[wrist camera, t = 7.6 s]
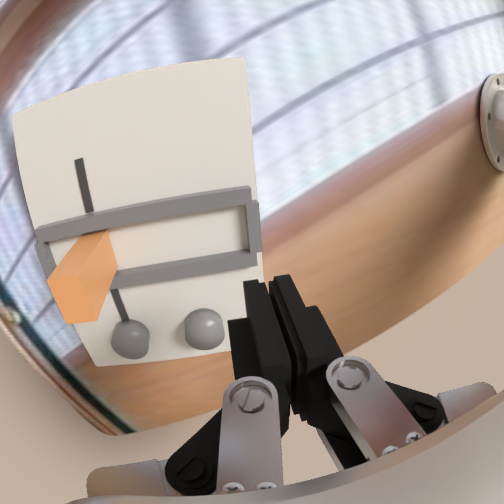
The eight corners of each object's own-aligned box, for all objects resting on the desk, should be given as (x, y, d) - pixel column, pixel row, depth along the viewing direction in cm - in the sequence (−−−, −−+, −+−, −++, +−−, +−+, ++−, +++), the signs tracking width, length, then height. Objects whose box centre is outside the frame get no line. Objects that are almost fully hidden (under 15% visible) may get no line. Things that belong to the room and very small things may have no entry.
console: (239, 63, 16) (250, 51, 13) (262, 328, 26) (272, 355, 23) (25, 114, 14) (0, 116, 11) (100, 351, 24) (93, 378, 21)
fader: (107, 229, 17) (77, 274, 12) (118, 266, 18) (97, 321, 13) (81, 234, 17) (46, 280, 12) (93, 271, 18) (66, 324, 13)
